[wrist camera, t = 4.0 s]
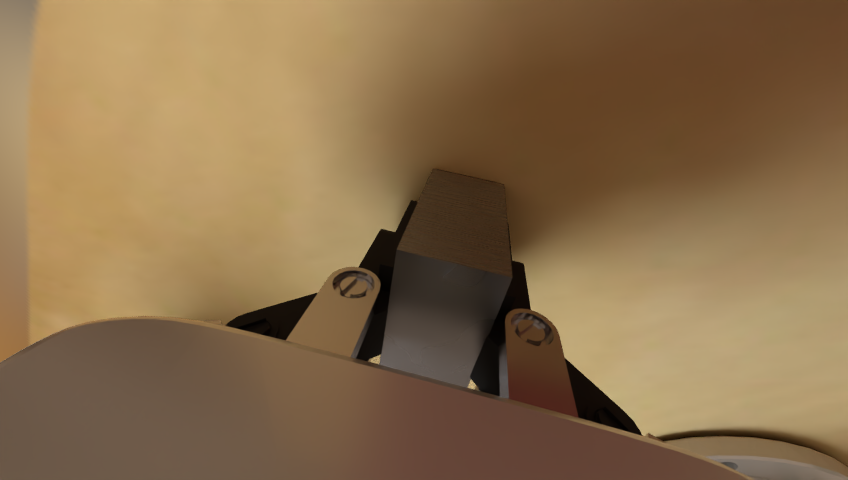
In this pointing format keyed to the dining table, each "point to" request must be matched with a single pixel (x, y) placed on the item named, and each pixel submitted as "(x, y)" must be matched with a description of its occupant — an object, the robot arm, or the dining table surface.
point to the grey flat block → (448, 278)
